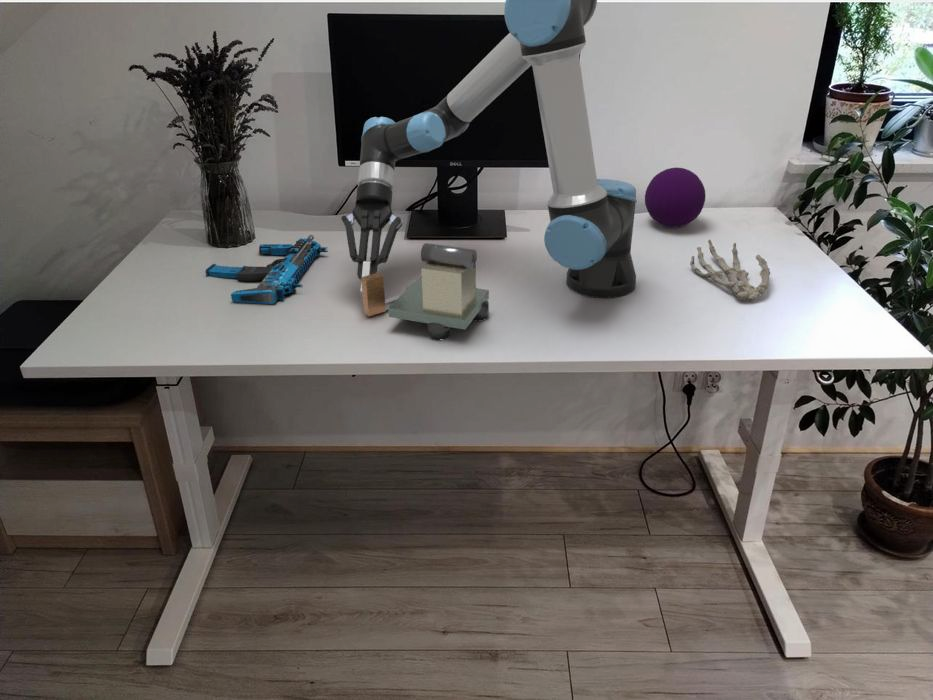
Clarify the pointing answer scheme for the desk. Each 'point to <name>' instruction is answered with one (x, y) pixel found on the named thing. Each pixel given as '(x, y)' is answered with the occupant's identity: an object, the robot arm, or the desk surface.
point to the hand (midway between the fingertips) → (365, 293)
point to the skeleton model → (734, 274)
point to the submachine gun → (272, 271)
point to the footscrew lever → (375, 294)
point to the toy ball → (675, 197)
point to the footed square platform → (444, 292)
